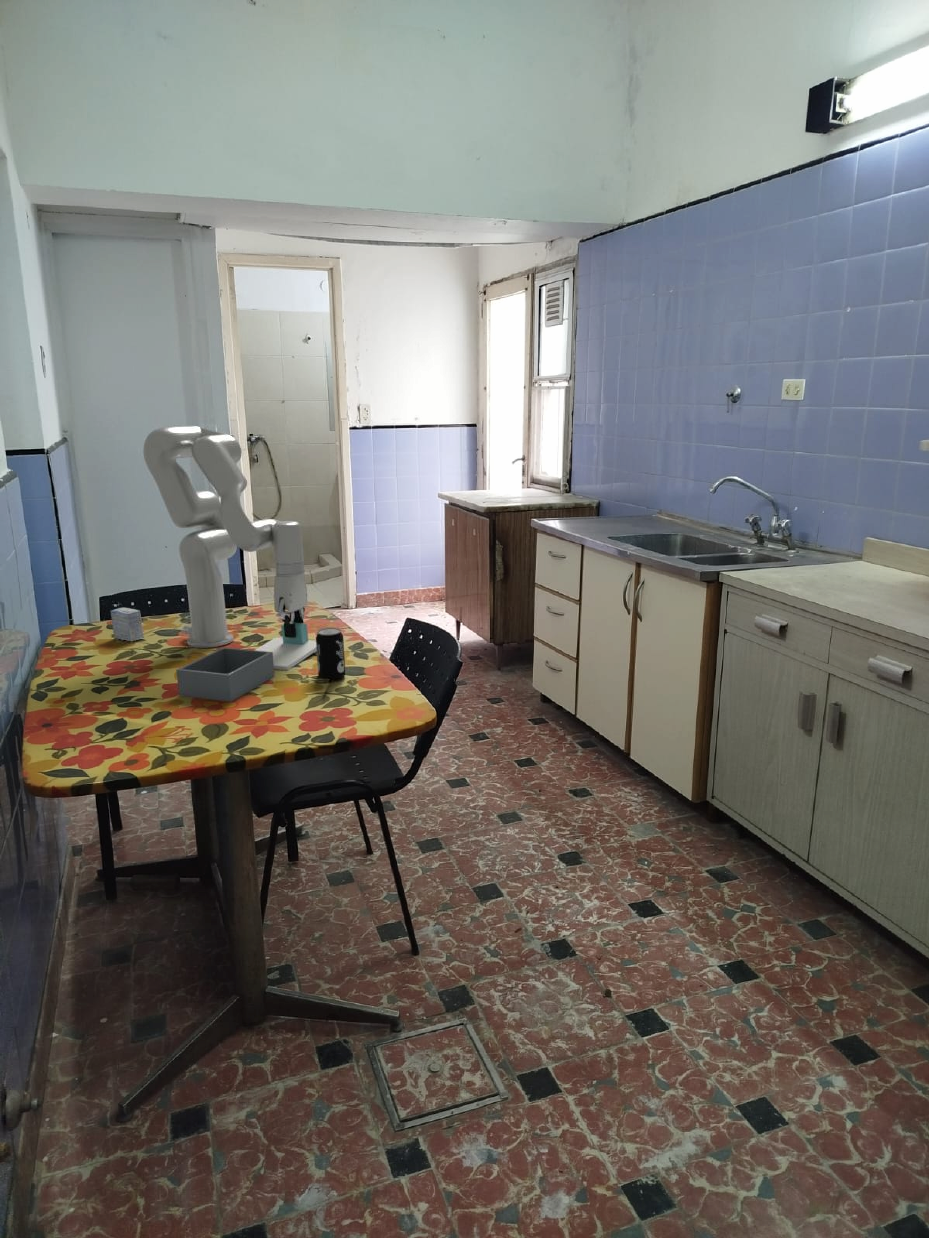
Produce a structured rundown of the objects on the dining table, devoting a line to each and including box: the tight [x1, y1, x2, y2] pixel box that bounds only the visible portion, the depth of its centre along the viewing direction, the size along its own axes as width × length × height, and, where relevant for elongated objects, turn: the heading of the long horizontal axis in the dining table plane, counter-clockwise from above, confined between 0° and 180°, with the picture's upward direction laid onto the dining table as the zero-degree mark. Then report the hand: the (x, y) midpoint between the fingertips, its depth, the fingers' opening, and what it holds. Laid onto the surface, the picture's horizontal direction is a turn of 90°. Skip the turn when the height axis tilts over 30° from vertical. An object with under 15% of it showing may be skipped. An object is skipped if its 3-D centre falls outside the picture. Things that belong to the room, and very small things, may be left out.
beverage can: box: [315, 627, 346, 682], centre depth 198 cm, size 7×7×12 cm
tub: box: [175, 646, 276, 703], centre depth 193 cm, size 14×18×7 cm
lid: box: [255, 623, 317, 671], centre depth 214 cm, size 15×19×7 cm
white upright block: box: [110, 607, 145, 642], centre depth 235 cm, size 8×4×9 cm, turn 58°
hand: (294, 634), depth 221 cm, fingers open, 3 cm apart
